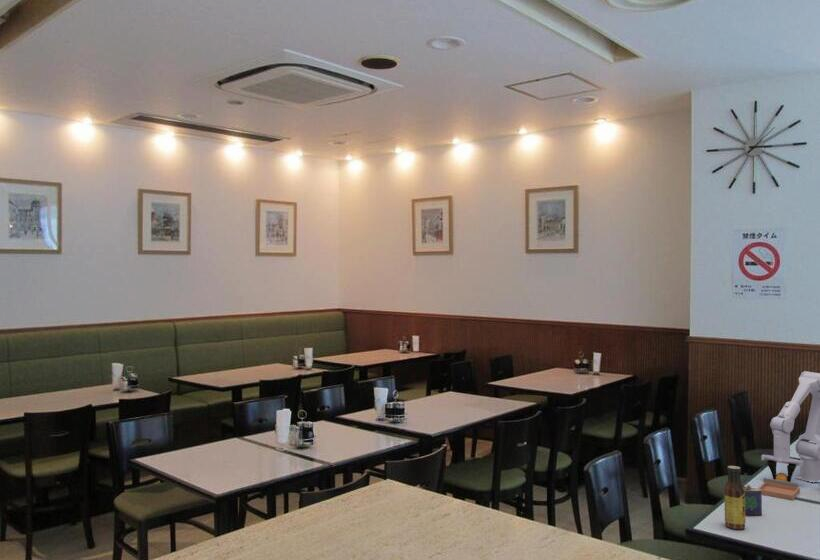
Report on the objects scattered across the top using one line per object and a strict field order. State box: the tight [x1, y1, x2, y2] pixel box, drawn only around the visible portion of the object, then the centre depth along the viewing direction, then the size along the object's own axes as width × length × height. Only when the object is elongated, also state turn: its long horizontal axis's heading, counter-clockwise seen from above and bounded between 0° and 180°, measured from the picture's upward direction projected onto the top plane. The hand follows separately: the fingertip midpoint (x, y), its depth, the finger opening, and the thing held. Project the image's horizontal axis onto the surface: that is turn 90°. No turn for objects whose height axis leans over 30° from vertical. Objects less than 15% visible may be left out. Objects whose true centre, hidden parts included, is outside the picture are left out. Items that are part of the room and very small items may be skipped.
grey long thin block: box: [763, 477, 799, 488], centre depth 263 cm, size 1×12×3 cm, turn 49°
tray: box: [756, 481, 801, 501], centre depth 257 cm, size 12×12×2 cm
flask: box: [743, 483, 763, 517], centre depth 234 cm, size 9×3×11 cm, turn 88°
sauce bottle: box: [723, 465, 746, 530], centre depth 223 cm, size 6×6×20 cm
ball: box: [775, 472, 788, 482], centre depth 268 cm, size 5×5×5 cm
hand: (781, 480), depth 268 cm, fingers closed on ball, 5 cm apart
